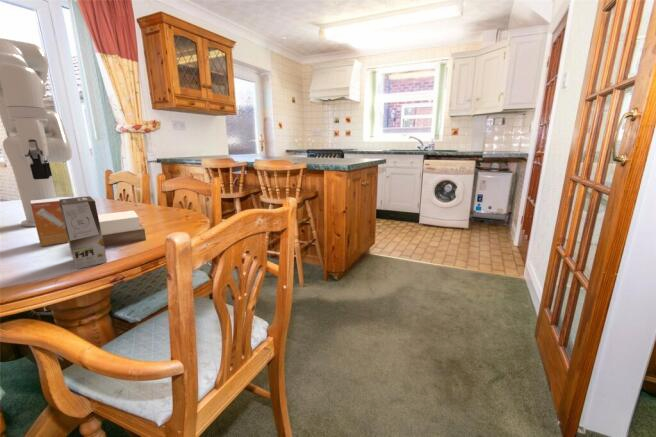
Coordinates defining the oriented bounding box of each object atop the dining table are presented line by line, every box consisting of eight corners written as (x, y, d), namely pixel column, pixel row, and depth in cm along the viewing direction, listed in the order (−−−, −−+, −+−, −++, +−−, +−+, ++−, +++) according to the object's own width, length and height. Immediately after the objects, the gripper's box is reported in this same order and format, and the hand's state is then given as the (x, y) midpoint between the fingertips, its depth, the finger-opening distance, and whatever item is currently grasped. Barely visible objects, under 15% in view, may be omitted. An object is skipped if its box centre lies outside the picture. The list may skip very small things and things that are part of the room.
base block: (96, 239, 94) (93, 227, 93) (140, 232, 101) (138, 221, 100) (98, 250, 85) (95, 236, 84) (146, 241, 92) (144, 229, 91)
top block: (94, 227, 92) (91, 215, 91) (135, 222, 99) (133, 210, 98) (96, 236, 84) (93, 222, 83) (140, 229, 91) (138, 216, 90)
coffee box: (108, 262, 75) (95, 200, 71) (75, 269, 71) (60, 204, 67) (102, 252, 81) (90, 195, 77) (72, 259, 77) (57, 198, 73)
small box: (40, 247, 85) (29, 203, 82) (40, 242, 90) (29, 200, 87) (76, 241, 91) (67, 199, 88) (75, 236, 95) (66, 196, 92)
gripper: (14, 117, 85) (29, 176, 89) (2, 111, 72) (20, 181, 76) (49, 118, 90) (62, 174, 94) (43, 113, 77) (59, 179, 81)
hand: (43, 177), depth 85 cm, fingers open, 9 cm apart
